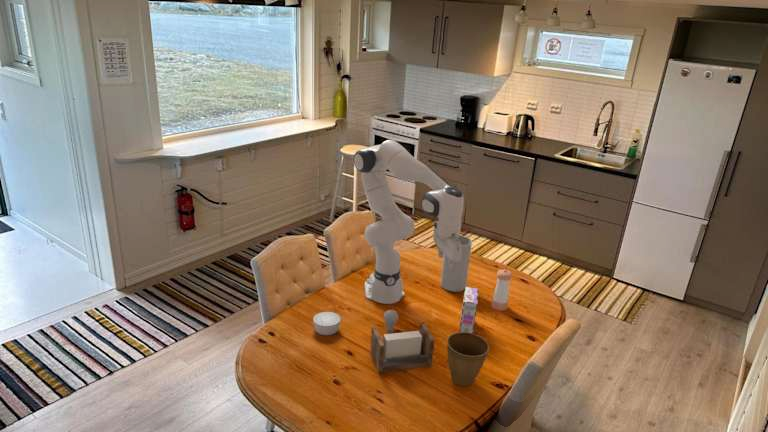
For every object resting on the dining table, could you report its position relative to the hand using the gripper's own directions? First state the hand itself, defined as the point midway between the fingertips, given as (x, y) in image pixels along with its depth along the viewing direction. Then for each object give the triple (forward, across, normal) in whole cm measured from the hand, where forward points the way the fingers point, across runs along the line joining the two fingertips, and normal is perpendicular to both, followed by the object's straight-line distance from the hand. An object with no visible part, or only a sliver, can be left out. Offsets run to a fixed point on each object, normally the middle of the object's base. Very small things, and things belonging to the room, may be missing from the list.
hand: (445, 261), depth 211 cm
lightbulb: (+34, +5, +19) cm, 40 cm away
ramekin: (+34, +13, +44) cm, 57 cm away
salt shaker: (+34, +17, -38) cm, 54 cm away
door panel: (+33, -13, +20) cm, 41 cm away
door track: (+34, -13, +20) cm, 42 cm away
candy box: (+34, +3, -15) cm, 38 cm away
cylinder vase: (+34, +39, -24) cm, 57 cm away
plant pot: (+34, -29, +1) cm, 45 cm away
